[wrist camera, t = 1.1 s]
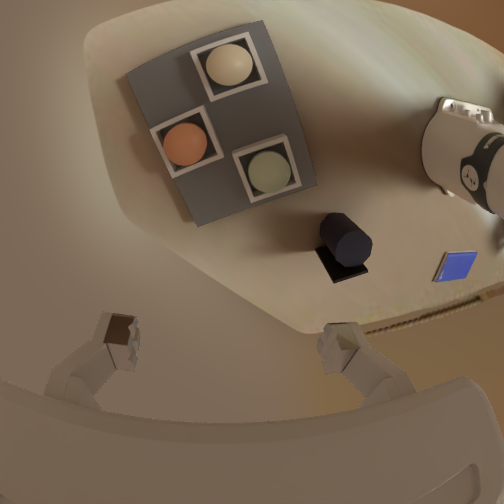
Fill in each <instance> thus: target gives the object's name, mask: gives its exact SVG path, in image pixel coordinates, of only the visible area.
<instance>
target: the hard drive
mask: <svg viewBox="0 0 504 504" xmlns="http://www.w3.org/2000/svg"><path fill="white" fill-rule="evenodd" d="M476 255H477V252H476V251H454V252H446V254H445V256H444V259H443V261H442V263H441V266H440V268H439V270H438V272H437V275H436V277H435V279H434V281H435V282H443V281H450V280H457V279H463V278H466V276H467V274H468V272H469V270H470V268H471V266H472V264H473V262H474V260H475V257H476Z"/></svg>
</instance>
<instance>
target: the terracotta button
mask: <svg viewBox="0 0 504 504" xmlns="http://www.w3.org/2000/svg"><path fill="white" fill-rule="evenodd" d="M206 147H207V136H206V133H205V131H204V130H203V129H202V128H201V127H200V126H199V125H197V124H195V123H191V122H184V123H181V124H178V125H176V126H175V127H174V128H172V129H171V130H170V131H169V132H168V133H167V135H166V136H165V139H164V143H163V148H164V152H165V154H166V156H167V158H168V159H169V160H170V161H172V162H173V163H175V164H177V165H182V166H187V165H191V164H194V163H196V162H197V161H199V160H200V159H201V158H202V156H203V155H204V153H205V150H206Z"/></svg>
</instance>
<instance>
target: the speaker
mask: <svg viewBox="0 0 504 504" xmlns="http://www.w3.org/2000/svg"><path fill="white" fill-rule="evenodd" d="M320 236H321V238H322V240H323V241H324V243H325V244H326V245H327V246H324V247H320V248H317V249H315V251H316V253H317V255H318V256H319V258H320V260H321V262H322V263H323V265H324V267H325V269H326V271H327V272H328V274H329V276H330V278H331V280H332V281H333V283H337V282H340V281H343V280H346V279H349V278H352V277H355V276H358V275H361V274H364V273H367V272H368V269H367V268H366V267H365V265H364V264H363V263H364V262H365V261H366V260H367V258H368V257H369V256H370V254H371V249H372V245H373V244H372V240H371V238H370V237H369V236H368V235H367V234H366V233H365V232H363V231H362V230H361V229H360V228H359V227H358V226H357V225H356V224H355V223H354V222H352V221H351V220H350V219H349V218H348V217H347V216H346V215H345V214H343V213H332V214H329V215H328V216H327V217H326V218H325V219H324V220H323V222H322V223H321V227H320Z"/></svg>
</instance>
